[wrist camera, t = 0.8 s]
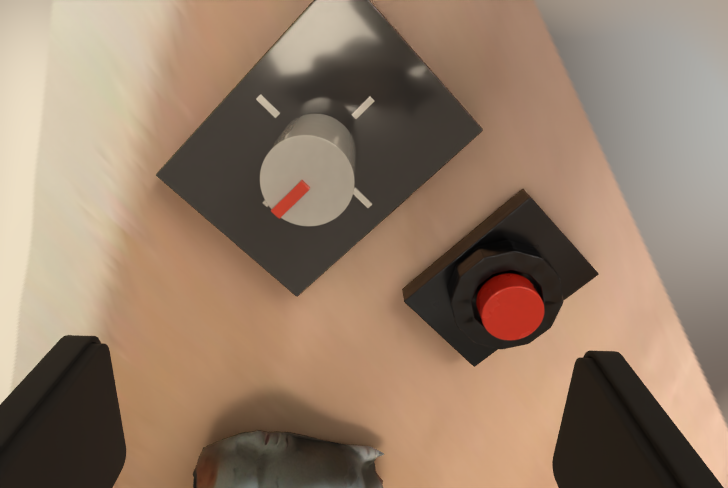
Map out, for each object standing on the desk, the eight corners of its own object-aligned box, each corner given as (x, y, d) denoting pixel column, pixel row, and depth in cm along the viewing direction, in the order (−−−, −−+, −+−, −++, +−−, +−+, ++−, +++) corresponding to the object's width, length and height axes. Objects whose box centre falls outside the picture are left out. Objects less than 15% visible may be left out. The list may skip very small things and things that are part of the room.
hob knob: (315, 96, 29) (304, 115, 24) (372, 154, 30) (374, 185, 25) (260, 152, 30) (238, 183, 25) (317, 206, 31) (308, 246, 26)
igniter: (522, 188, 33) (539, 207, 30) (588, 262, 35) (611, 288, 32) (402, 289, 36) (405, 316, 33) (469, 352, 38) (479, 384, 35)
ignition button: (511, 261, 32) (518, 274, 30) (548, 299, 33) (557, 315, 31) (463, 298, 33) (468, 313, 31) (500, 335, 34) (507, 351, 32)
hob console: (343, -29, 28) (341, -32, 26) (476, 123, 31) (484, 130, 30) (166, 166, 32) (153, 176, 31) (300, 282, 36) (296, 299, 34)
